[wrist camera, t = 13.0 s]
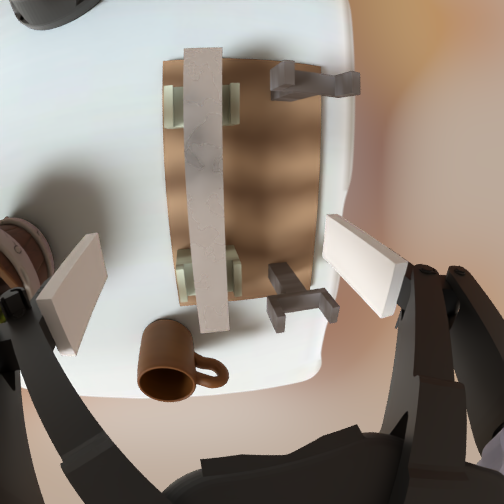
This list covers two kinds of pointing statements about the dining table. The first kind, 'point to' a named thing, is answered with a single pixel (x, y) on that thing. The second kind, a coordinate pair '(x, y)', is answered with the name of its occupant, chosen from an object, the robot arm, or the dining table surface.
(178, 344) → the mug
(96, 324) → the dining table surface
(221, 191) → the rail
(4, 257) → the flowerpot
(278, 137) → the rack
